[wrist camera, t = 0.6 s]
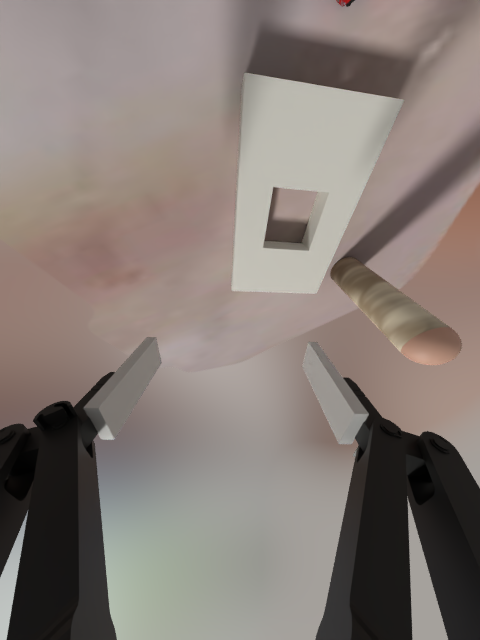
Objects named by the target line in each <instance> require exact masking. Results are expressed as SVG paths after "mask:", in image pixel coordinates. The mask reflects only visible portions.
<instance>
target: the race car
mask: <svg viewBox="0 0 480 640" xmlns="http://www.w3.org/2000/svg"><path fill="white" fill-rule="evenodd" d="M336 1H337V2H338V3H339V4H340V5H341V6H345V5H346V6H347V7H348V6H350V5H351V3H352V2H353V1H355V0H336Z"/></svg>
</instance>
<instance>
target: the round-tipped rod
mask: <svg viewBox="0 0 480 640" xmlns="http://www.w3.org/2000/svg"><path fill="white" fill-rule="evenodd" d="M330 275H331V278H332V279H333V280H334V281H335V283H336V284H337V285H338V286H339V287H340V288H341V289H342V290H343V291H344V292H345V293H346V294H347V295H348V296H349V298H350V299H351V300H352V301H353V302H354V303H355V304H356V305H357V306H358V307H359V308H360V309H361V310H362V311H363V312H364V314H365V315H366V316H367V317H368V318H369V319H370V320H371V321H372V322H373V323H374V324H375V325H376V326H377V327H378V328H379V330H380V331H381V332H382V333H383V334H384V335H385V336H386V337H387V338H388V339H389V340H390V341H391V342H392V343H393V345H394V346H396V348H397V349H398V350H399V351H400V352H401V353H402V354H403V355H404V356H406V357H407V358H408V359H410V360H412V361H414V362H417V363H420V364H424V365H439V364H444V363H447V362H449V361H451V360H453V359H455V358H456V357H457V356H458V354H459V353H460V351H461V347H462V343H461V339H460V337H459V335H458V334H457V333H456V332H455V331H454V330H453V329H452V328H450V327H449V326H448V325H446V324H445V323H443V322H442V321H440V320H439V319H438V318H437V317H435V316H434V315H432V314H431V313H430V312H428V311H427V310H425V309H424V308H423V307H421V306H420V305H418V304H417V303H416V302H414V301H413V300H412V299H410V298H409V297H408V296H406V295H405V294H403V293H402V292H401V291H399V290H398V289H396V288H395V287H394V286H392V285H391V284H390V283H388V282H387V281H385V280H384V279H383V278H381V277H380V276H379V275H377V274H376V273H374V272H373V271H372V270H370V269H369V268H368V267H366V266H365V265H363V264H362V263H361V262H359V261H358V260H356V259H355V258H353V257H346V258H343V259H341V260H340V261H338V262H337V263H336V264H335V265H334V266H333V268H332V270H331V274H330Z"/></svg>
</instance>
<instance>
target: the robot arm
mask: <svg viewBox="0 0 480 640" xmlns="http://www.w3.org/2000/svg"><path fill="white" fill-rule="evenodd" d="M161 363H162V362H161V358H160V353H159V349H158V344H157V339H156V337H147V338H146V339H145V340H144V341H143V342H142V343H141V344H140V346H139V347H138V348H137V349H136V350H135V351H134V352H133V353H132V354H131V355H130V357H129V358H128V359H127V360H126V361H125V362H124V363H123V364H122V365H121V367H120V368H119V369H118V370H117V371H116V372H110V373H108V374H107V375H105V376H104V377H102V378H101V379H100V380H99V381H98V382H97V383H96V385H95V386H94V387H93V388H92V389H91V391H89V392H88V393H87V394H86V395H85V396H84V397H83V398H82V399H81V400H80V401H79V402H78V403H77V404H76V405H75V407H73V406H72V405H71V403H70V402H68V401H60V402H57V403H54V404H52V405H49V406H47V407H46V408H44V409H43V410H42V411H40V412H39V413H38V414H37V415H36V416H35V418H34V420H33V422H34V423H35V424H36V425H37V427H34V428H30V429H27V428H26V427H25V426H24V425H23V424H14V425H10V426H8V427H5V428H3V429H1V430H0V577H1V574H2V572H3V569H4V566H5V564H6V562H7V559H8V557H9V555H10V552H11V550H12V548H13V545H14V543H15V540H16V538H17V535H18V533H19V531H20V528H21V526H22V523H23V521H24V518H25V516H26V513H27V511H28V516H27V522H26V528H25V534H24V539H23V546H22V551H21V557H20V563H19V570H18V575H17V582H16V587H15V593H14V600H13V605H12V611H11V617H10V623H9V630H8V635H7V640H117V639H116V633H115V628H114V625H113V622H112V619H111V615H110V610H109V601H108V589H107V577H106V566H105V555H104V543H103V532H102V521H101V509H100V498H99V488H98V475H97V465H96V453H95V443H94V441H93V439H94V438H95V437H96V435H97V434H98V435H99V436H100V438H101V439H106V440H107V439H108V440H115V438H116V437H117V435H118V433H119V432H120V430H121V428H122V427H123V425H124V423H125V422H126V420H127V418H128V417H129V415H130V414H131V412H132V410H133V408H134V407H135V405H136V404H137V402H138V400H139V399H140V397H141V396H142V394H143V392H144V391H145V389H146V387H147V386H148V384H149V382H150V381H151V379H152V377H153V376H154V374H155V373H156V371H157V369H158V368H159V366H160V364H161ZM302 367H303V369H304V371H305V373H306V376H307V377H308V380H309V382H310V384H311V386H312V388H313V390H314V393H315V394H316V396H317V399H318V401H319V403H320V405H321V407H322V409H323V412H324V414H325V416H326V418H327V420H328V422H329V424H330V426H331V428H332V431H333V433H334V435H335V437H336V439H337V441H338V443H339V444H352V443H353V441H354V439H356V441H357V442H358V444H359V446H358V448H357V449H356V451H355V452H354V454H353V456H356V457H355V462H354V467H353V472H352V478H351V482H350V487H349V492H348V497H347V503H346V508H345V513H344V517H343V522H342V527H341V532H340V537H339V543H338V547H337V552H336V557H335V563H334V567H333V572H332V577H331V582H330V588H329V593H328V598H327V603H326V607H325V612H324V616H323V618H322V621H321V624H320V626H319V629H318V632H317V635H316V640H412V618H411V589H410V562H409V561H410V560H409V531H408V502H407V496H408V500H409V503H410V507H411V510H412V514H413V517H414V520H415V524H416V528H417V531H418V535H419V538H420V541H421V545H422V549H423V552H424V555H425V559H426V562H427V566H428V569H429V573H430V577H431V580H432V584H433V587H434V591H435V594H436V598H437V601H438V605H439V608H440V612H441V615H442V618H443V622H444V626H445V629H446V632H447V636H448V640H480V488H479V486H478V485H477V483H476V481H475V480H474V478H473V476H472V475H471V473H470V471H469V469H468V468H467V466H466V464H465V462H464V461H463V459H462V457H461V456H460V454H459V452H458V451H457V450H456V449H455V447H454V446H453V445H452V444H451V443H450V442H448V441H447V440H446V439H444V438H443V437H441V436H439V435H437V434H435V433H432V432H428V431H427V432H423V433H422V434H421V435H420V436H416V435H413V434H410V433H407V432H404V431H401V429H400V428H399V427H398V426H396V425H395V424H394V423H392V422H391V421H389V420H386V419H384V418H382V416H381V415H380V414H379V413H378V411H377V410H376V409H375V408H374V406H373V405H372V404H371V402H370V401H369V400H368V398H367V397H365V395H364V393H363V392H362V391H361V390H360V388H359V387H358V386H357V384H356V383H354V382H353V381H352V380H351V379H350V378H343V377H342V376H341V375H340V373H339V372H338V370H337V369H336V368H335V366H334V365H333V363H332V362H331V361H330V359H329V358H328V357H327V355H326V354H325V352H324V351H323V350H322V348H321V347H320V345H319V344H318V343H317V342H308V346H307V350H306V354H305V357H304V361H303V365H302ZM28 509H29V510H28Z"/></svg>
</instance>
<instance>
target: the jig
mask: <svg viewBox="0 0 480 640" xmlns="http://www.w3.org/2000/svg"><path fill="white" fill-rule="evenodd" d="M403 102H404V100H403V99H397V98H391V97H385V96H379V95H373V94H368V93H362V92H356V91H350V90H344V89H338V88H332V87H326V86H321V85H315V84H309V83H303V82H297V81H291V80H285V79H280V78H274V77H268V76H262V75H256V74H250V73H244V77H243V81H242V87H241V106H240V125H239V143H238V162H237V181H236V199H235V218H234V237H233V255H232V274H231V288H232V291H250V292H280V293H310V294H316V293H317V291H318V289H319V287H320V284H321V282H322V280H323V278H324V276H325V273H326V271H327V269H328V267H329V265H330V262H331V260H332V258H333V256H334V254H335V251H336V249H337V247H338V245H339V243H340V240H341V238H342V236H343V234H344V232H345V229H346V227H347V225H348V223H349V221H350V218H351V216H352V214H353V212H354V210H355V207H356V205H357V203H358V201H359V199H360V196H361V194H362V192H363V190H364V188H365V185H366V183H367V181H368V179H369V177H370V174H371V172H372V170H373V168H374V166H375V163H376V161H377V159H378V157H379V155H380V152H381V150H382V148H383V146H384V144H385V141H386V139H387V137H388V135H389V133H390V130H391V128H392V126H393V124H394V122H395V119H396V117H397V115H398V113H399V111H400V108H401V106H402V104H403ZM273 187H278V188H288V189H297V190H307V191H317V196H316V199H315V202H314V205H313V208H312V212H311V215H310V218H309V221H308V224H307V228H306V231H305V234H304V237H303V240H302V243H290V242H274V241H264V239H265V233H266V227H267V221H268V215H269V209H270V203H271V198H272V192H273Z"/></svg>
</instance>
